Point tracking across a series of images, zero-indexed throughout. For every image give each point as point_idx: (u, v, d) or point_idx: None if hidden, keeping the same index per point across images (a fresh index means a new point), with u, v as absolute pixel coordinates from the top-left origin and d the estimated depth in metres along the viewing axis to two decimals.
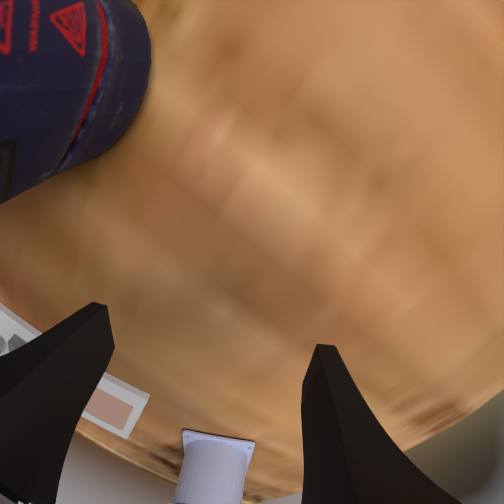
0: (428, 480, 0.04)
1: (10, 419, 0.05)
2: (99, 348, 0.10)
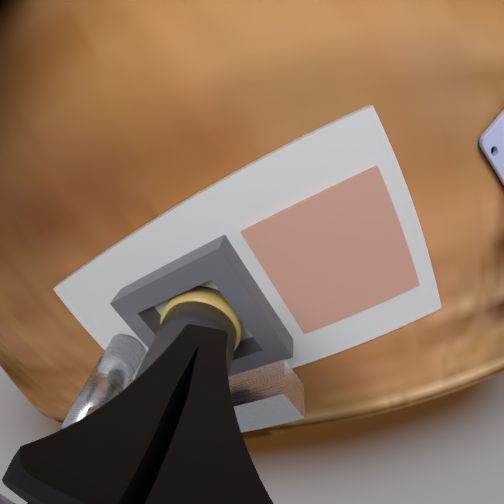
0: (256, 484, 0.04)
1: (145, 477, 0.05)
2: None
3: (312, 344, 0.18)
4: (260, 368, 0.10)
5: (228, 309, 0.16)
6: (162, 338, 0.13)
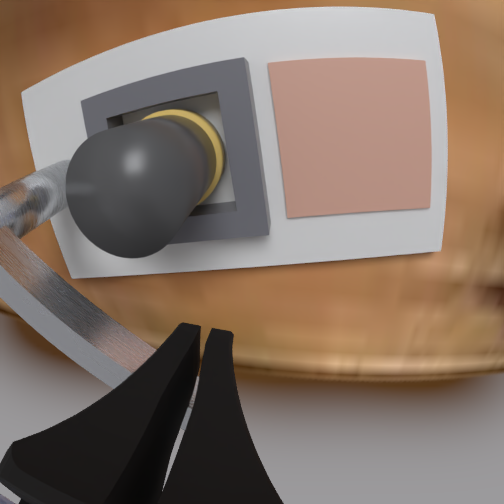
0: (266, 486, 0.04)
1: (136, 474, 0.05)
2: (192, 371, 0.09)
3: (289, 239, 0.15)
4: None
5: (217, 139, 0.12)
6: None
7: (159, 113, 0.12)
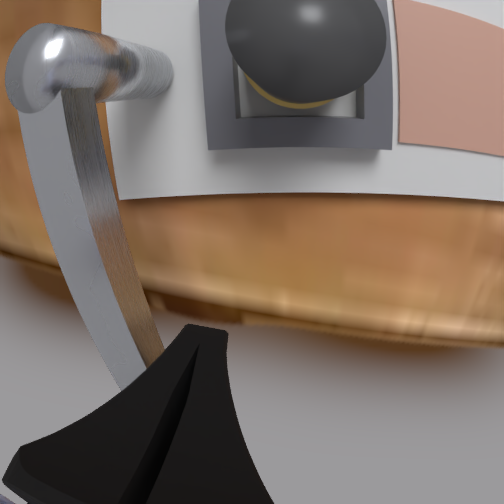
0: (257, 485, 0.04)
1: (145, 477, 0.05)
2: None
3: (396, 165, 0.13)
4: None
5: None
6: None
7: None
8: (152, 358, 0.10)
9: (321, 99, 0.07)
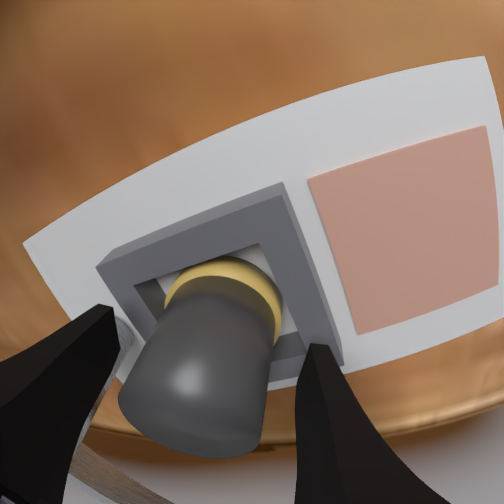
0: (419, 481, 0.04)
1: (17, 423, 0.05)
2: (105, 350, 0.10)
3: (362, 349, 0.13)
4: None
5: (265, 288, 0.11)
6: (164, 331, 0.08)
7: (188, 277, 0.11)
8: None
9: (229, 457, 0.08)
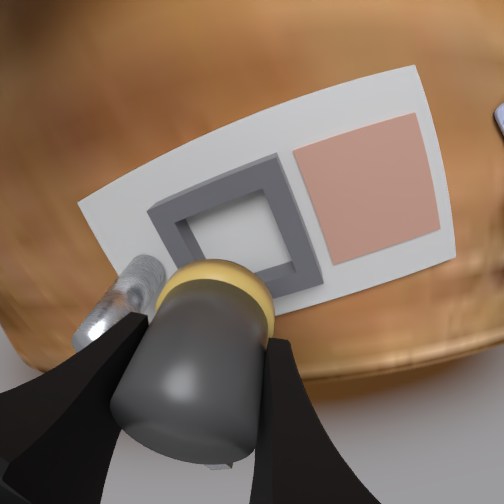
0: (361, 487, 0.04)
1: (60, 445, 0.05)
2: None
3: (338, 278, 0.19)
4: None
5: (257, 291, 0.11)
6: (155, 336, 0.08)
7: (178, 281, 0.11)
8: None
9: (225, 463, 0.08)
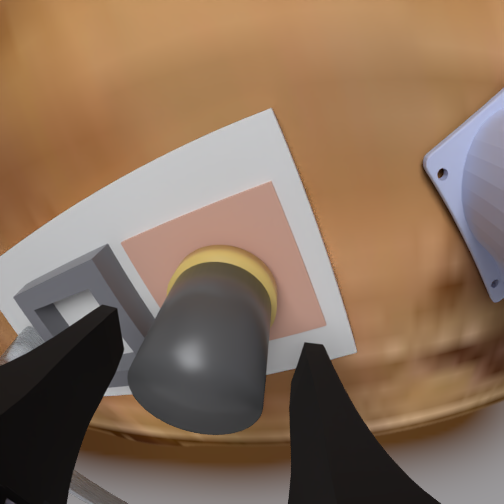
0: (412, 483, 0.04)
1: (22, 426, 0.05)
2: (109, 351, 0.10)
3: None
4: (119, 499, 0.16)
5: (261, 273, 0.12)
6: (170, 310, 0.09)
7: (190, 264, 0.12)
8: (97, 498, 0.14)
9: (232, 432, 0.09)
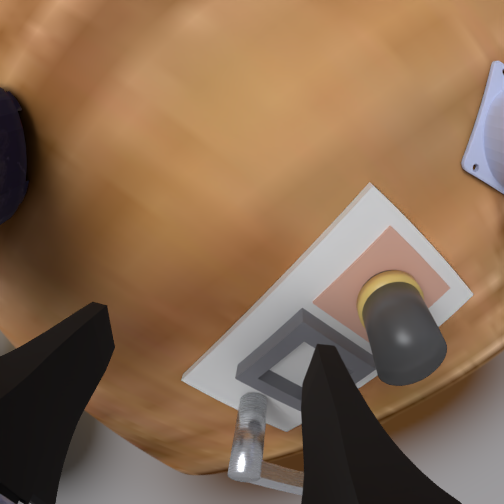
0: (428, 480, 0.04)
1: (10, 419, 0.05)
2: (99, 348, 0.10)
3: None
4: None
5: (408, 278, 0.17)
6: (381, 323, 0.16)
7: (369, 294, 0.18)
8: None
9: (435, 369, 0.15)
